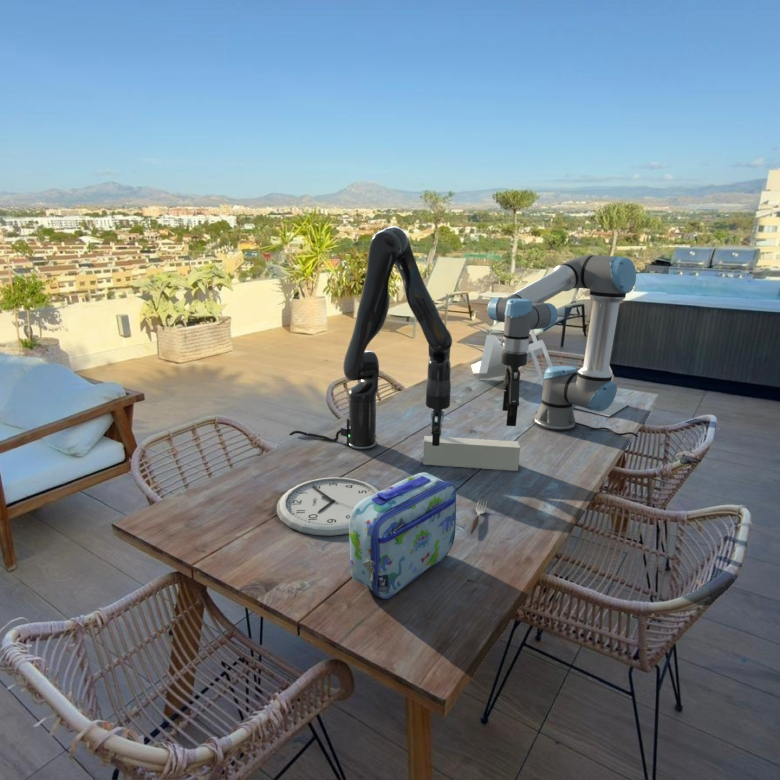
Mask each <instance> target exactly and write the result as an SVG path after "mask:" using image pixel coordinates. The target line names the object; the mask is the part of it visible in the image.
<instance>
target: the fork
mask: <svg viewBox="0 0 780 780" xmlns="http://www.w3.org/2000/svg"><path fill="white" fill-rule="evenodd" d="M482 502H483V503H482ZM487 503H488V500H486V501H485V499H484V500H483V499H481V500H480V498H478V501H477V503H476V504H477V505H476V507H475V513H477V515H476V517H475V518H474V520H473V521H472V527H471V530H470V535H473V532H474V531H475V529H476V528H477V526H478V523H479V519H480V516H481V515H483V514H485V513H486V511H487V505H488V504H487Z"/></svg>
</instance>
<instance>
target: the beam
mask: <svg viewBox="0 0 780 780" xmlns="http://www.w3.org/2000/svg"><path fill="white" fill-rule="evenodd" d="M432 436H433V435H424V439H423V455H422V456H423V457H422V458H423V460H422V465H425V466H438V467H452V468H454V467H455V468H469V469H484V470H499V471H515V472H518V471H519V463H520V455H521V445H520V442H519V441H517V440H516V441H515V440H499V439H486V438H485V439H484V438H483V439H482V438H467V437H466V438H465V437H451V436H450V437H449V436H440V442H439V446H433V445H432Z"/></svg>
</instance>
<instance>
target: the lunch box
mask: <svg viewBox="0 0 780 780" xmlns="http://www.w3.org/2000/svg"><path fill="white" fill-rule="evenodd" d="M456 524H457V489H456V486H455V484H454V483H453V482H452V481H445V480H442V479H440V478H439V477H436V476H434V475H433V474H431V473H429V472H426V471H425V472H424V471H423V472H419V473H416V474H413V475H411V476H409V477H407V478H405V479H403V480H401V481H400V480H399V481H398V482H396V483H395V484H392V485H390V486H388V487H385V488H383V489H382V490H380V492H378V493H376V494H374V495H372V496H370V497H367V498H365V499H363V500H362V501H360V502H359V503H358V504H357V505H356V506H355V507H354V509H353V511H352V513H351V515H350V520H349V534H348V542H349V543H348V544H349V568H350V575H351V577H352V579H353V581H355V582H356V583H359V584H361V585H362V586H364V587H366V588H367V589H369V590H370V591H372V592H373V593H374V595H375V596H377V597H378V598H380V599H384V600H387V599H390V598H392V597H394V596H395V595H396V594H397V593H398V592H400V591H401V590H403V589H404V588H405V587H406V586H407V585H410V584H411V583H412V582H413V581H414V580H416V579H417V578H418V577H419V576H421V575H422V574H423V573H425V571H427V570H428V569H429V568H431V567H433V566H435V565H436V564H438V563H439V562H441V561H442V560H443V559H445V558H446V557H447V556H448V554H449V552H450V551H451V550H452V547H453V545H454V542H455V539H456V538H455V536H456V526H457V525H456Z"/></svg>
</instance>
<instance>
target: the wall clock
mask: <svg viewBox="0 0 780 780" xmlns="http://www.w3.org/2000/svg"><path fill="white" fill-rule="evenodd" d="M380 491H381V490H380V489H379V488H377V487H376V486H374V485H372V484H371V483H369V482H365V481H362V480H359V479H355V478H349V477H338V476H337V477H335V476H333V477H332V476H331V477H322V478H317V479H312V480H307V481H305V482H302V483H299V484H297V485H295V486H293V487H292V488H290V489H288V490H287V491H286V492H285V493H284V494H283V495H281V496H280V498H279V499H278V502H277V503H276V515H277V517H278V518H279V520H280V521H281V522H282V523H283V524H285V525H286V526H287V527H288V528H290V529H293V530H295V531H297V532H299V533H303V534H308V535H312V536H327V537H328V536H329V537H331V536H332V537H333V536H342V535H349V520H350V515H351V513H352V511H353V509H354V507H355V506H356V505H357V504H358V503H359V502H360V501H362V500H363V499H365V498H367V497H370V496H372V495H374V494H376V493H378V492H380Z"/></svg>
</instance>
